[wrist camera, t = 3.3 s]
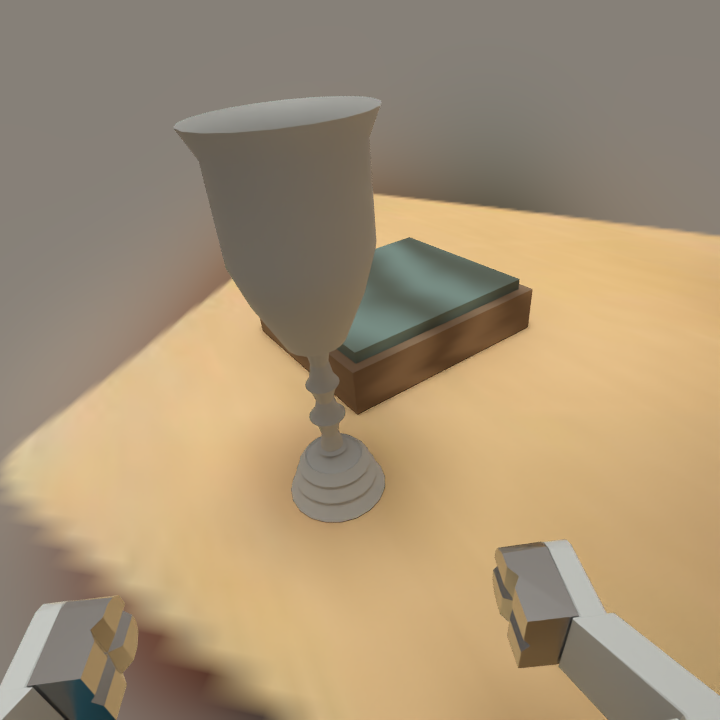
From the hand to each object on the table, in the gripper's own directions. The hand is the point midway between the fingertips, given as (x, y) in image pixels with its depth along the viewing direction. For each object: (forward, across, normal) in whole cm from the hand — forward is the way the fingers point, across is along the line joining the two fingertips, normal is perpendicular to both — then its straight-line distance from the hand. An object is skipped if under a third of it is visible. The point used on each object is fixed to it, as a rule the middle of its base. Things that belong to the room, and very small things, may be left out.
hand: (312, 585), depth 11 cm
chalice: (+12, 0, +10) cm, 16 cm away
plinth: (+28, -5, +10) cm, 30 cm away
